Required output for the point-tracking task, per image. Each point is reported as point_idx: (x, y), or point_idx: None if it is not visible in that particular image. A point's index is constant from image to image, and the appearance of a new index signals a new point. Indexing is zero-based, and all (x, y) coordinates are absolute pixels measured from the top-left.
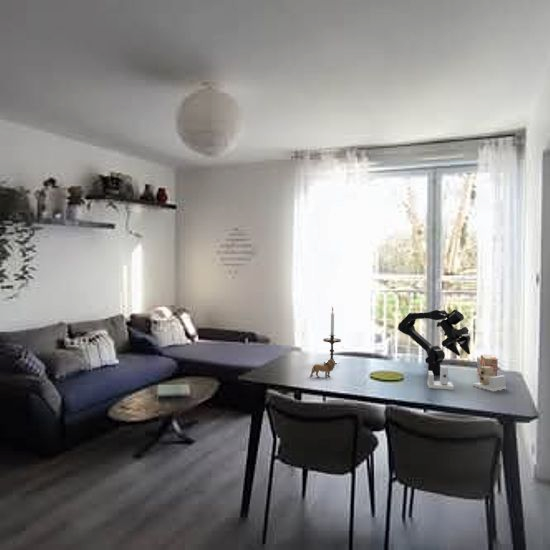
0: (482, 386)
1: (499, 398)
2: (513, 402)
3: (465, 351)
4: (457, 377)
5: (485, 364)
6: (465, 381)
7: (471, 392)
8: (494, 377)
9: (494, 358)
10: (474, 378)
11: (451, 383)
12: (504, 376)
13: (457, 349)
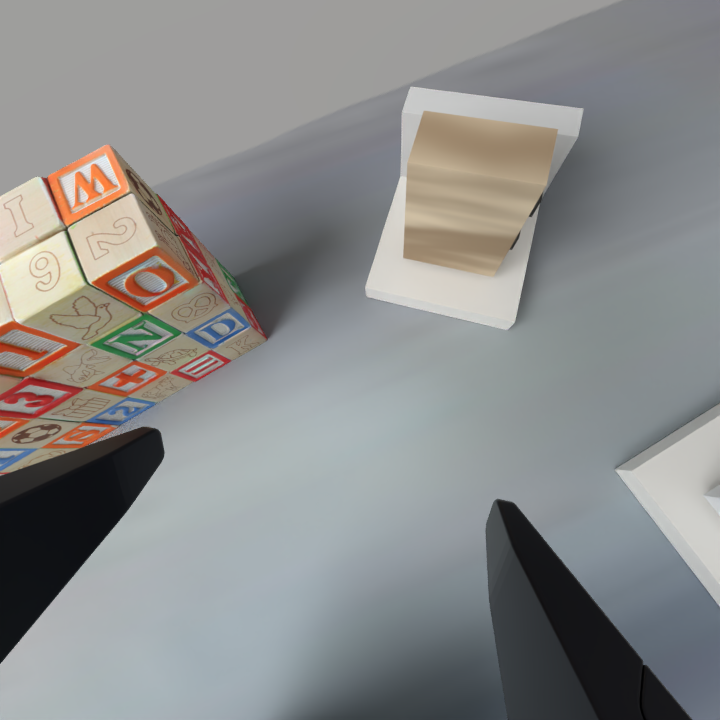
0: (528, 249)
1: (674, 107)
2: (688, 39)
3: (99, 540)
4: (288, 548)
5: (201, 279)
6: (388, 434)
7: (696, 263)
8: (548, 111)
9: (64, 189)
10: (229, 426)
11: (684, 441)
12: (428, 90)
13: (578, 633)
